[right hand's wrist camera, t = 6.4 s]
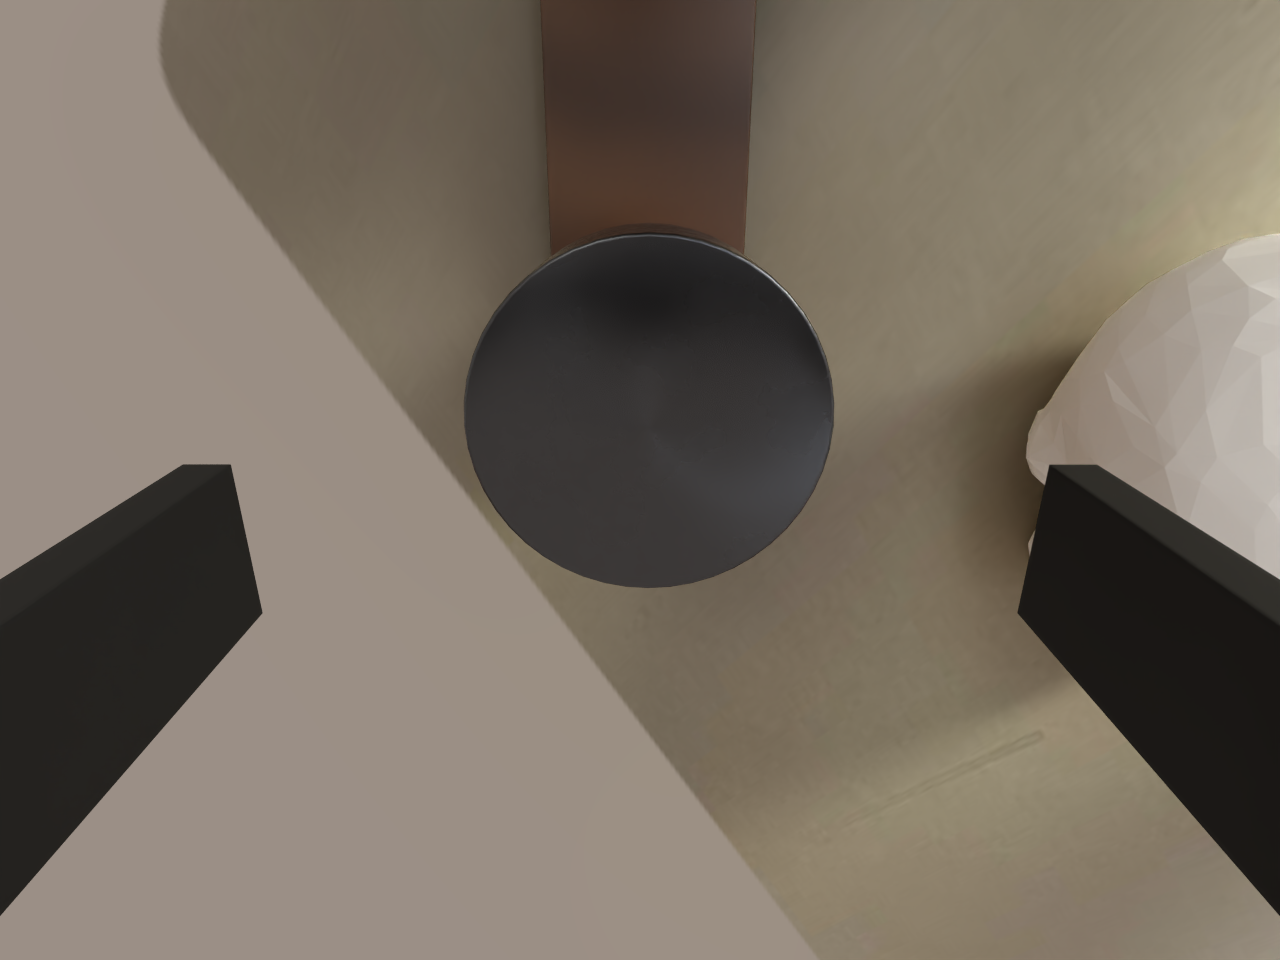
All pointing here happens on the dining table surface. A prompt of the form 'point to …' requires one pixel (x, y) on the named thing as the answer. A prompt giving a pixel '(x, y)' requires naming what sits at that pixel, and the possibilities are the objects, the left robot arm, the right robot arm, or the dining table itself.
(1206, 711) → the right robot arm
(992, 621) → the dining table surface
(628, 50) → the canister stand
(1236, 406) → the skull
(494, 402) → the canister lid
